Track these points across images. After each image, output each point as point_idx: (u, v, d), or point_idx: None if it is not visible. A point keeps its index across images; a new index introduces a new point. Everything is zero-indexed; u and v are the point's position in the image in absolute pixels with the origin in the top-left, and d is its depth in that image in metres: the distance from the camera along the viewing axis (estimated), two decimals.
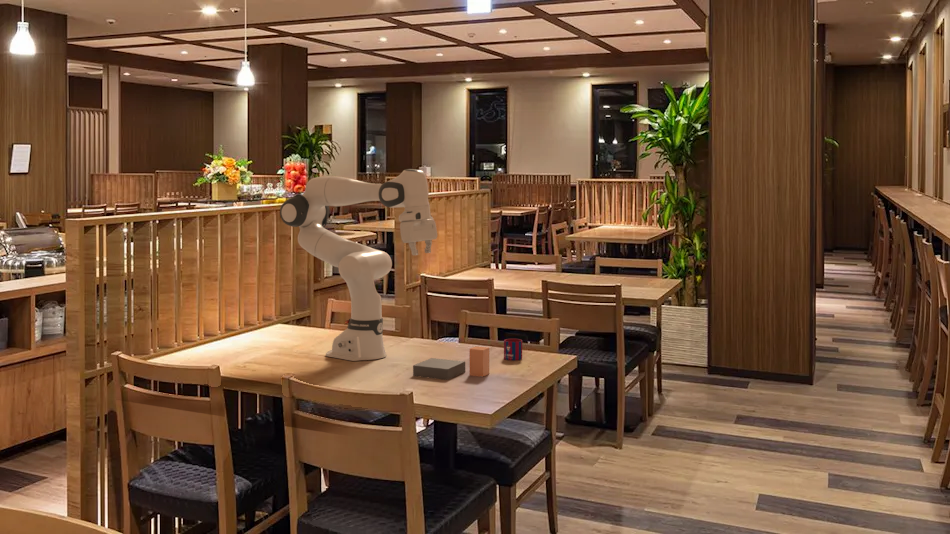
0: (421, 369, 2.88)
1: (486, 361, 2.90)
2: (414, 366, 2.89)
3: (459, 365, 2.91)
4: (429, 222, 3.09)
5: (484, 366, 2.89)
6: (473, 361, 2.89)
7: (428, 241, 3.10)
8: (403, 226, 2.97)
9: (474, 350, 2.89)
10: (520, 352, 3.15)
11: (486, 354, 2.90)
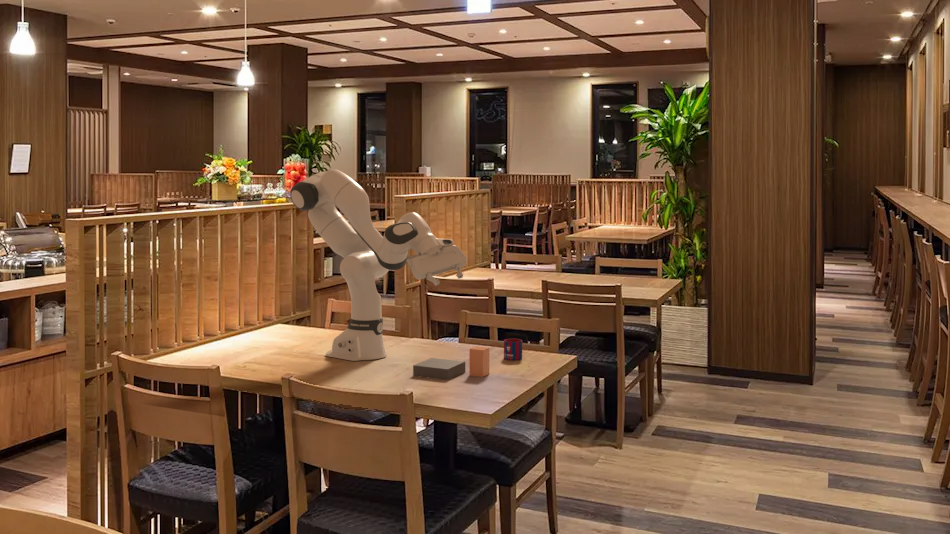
0: (421, 369, 2.88)
1: (486, 361, 2.90)
2: (414, 366, 2.89)
3: (459, 365, 2.91)
4: None
5: (484, 366, 2.89)
6: (473, 361, 2.89)
7: None
8: None
9: (474, 350, 2.89)
10: (520, 352, 3.15)
11: (486, 354, 2.90)
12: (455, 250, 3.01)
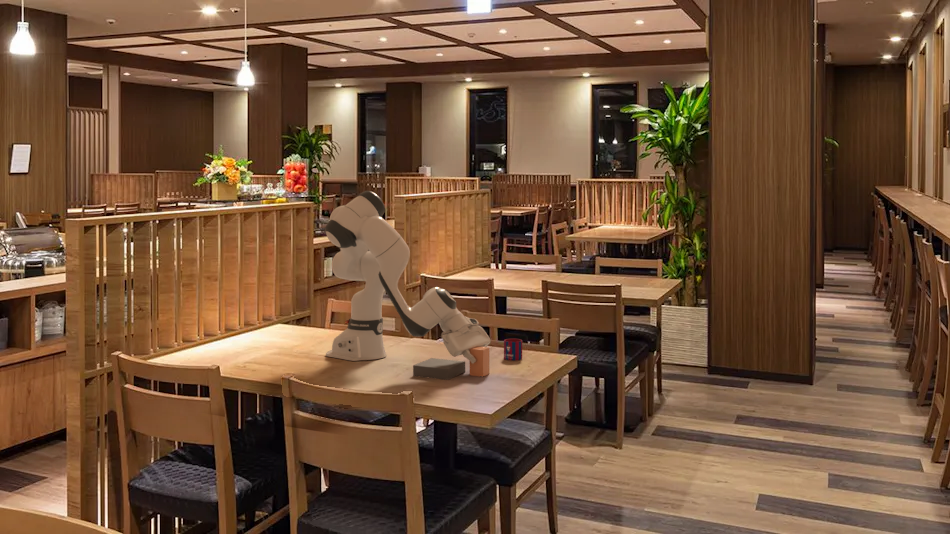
0: (421, 369, 2.88)
1: (486, 361, 2.90)
2: (414, 366, 2.89)
3: (459, 365, 2.91)
4: None
5: (484, 366, 2.89)
6: None
7: None
8: None
9: (474, 350, 2.89)
10: (520, 352, 3.15)
11: (486, 354, 2.90)
12: (479, 330, 2.99)
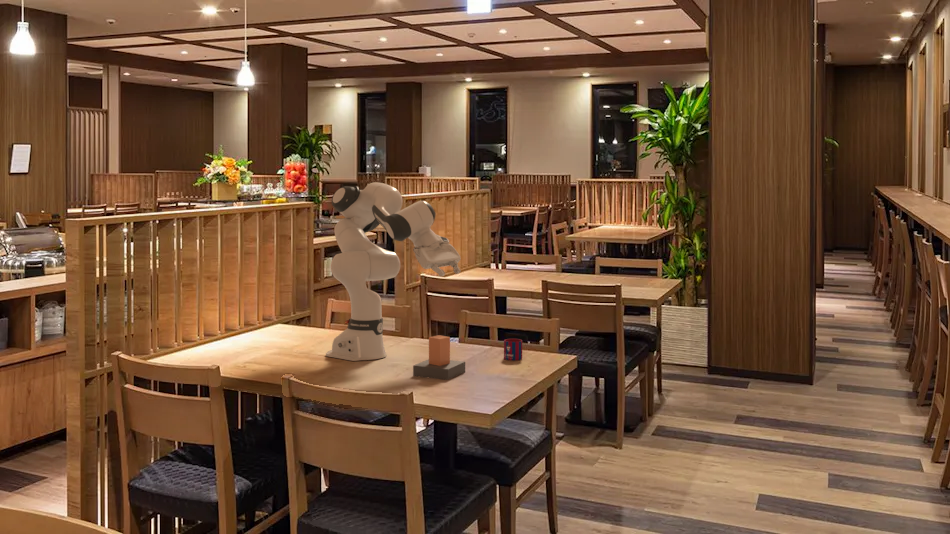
0: (421, 369, 2.88)
1: (444, 351, 2.90)
2: (414, 366, 2.89)
3: (459, 365, 2.91)
4: None
5: (442, 355, 2.89)
6: (432, 349, 2.90)
7: None
8: None
9: (432, 339, 2.90)
10: (520, 352, 3.15)
11: (445, 343, 2.90)
12: (450, 248, 3.19)
